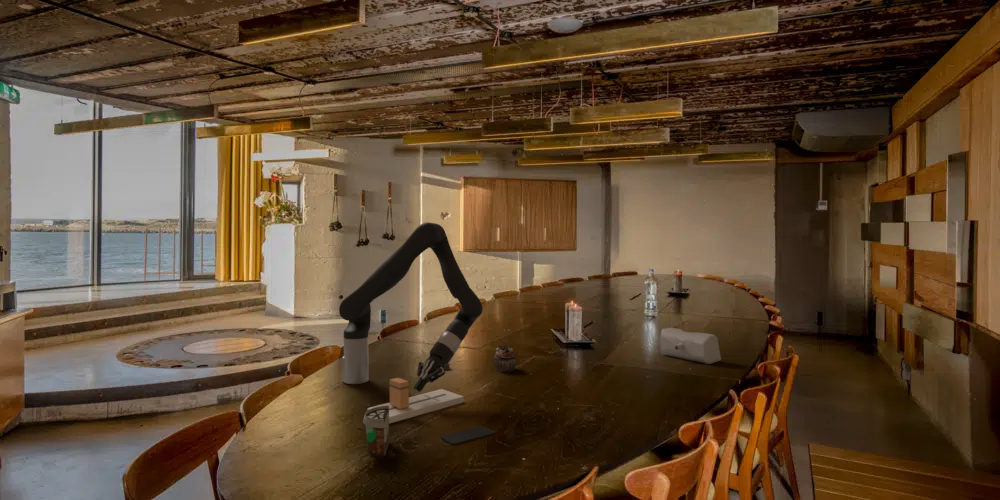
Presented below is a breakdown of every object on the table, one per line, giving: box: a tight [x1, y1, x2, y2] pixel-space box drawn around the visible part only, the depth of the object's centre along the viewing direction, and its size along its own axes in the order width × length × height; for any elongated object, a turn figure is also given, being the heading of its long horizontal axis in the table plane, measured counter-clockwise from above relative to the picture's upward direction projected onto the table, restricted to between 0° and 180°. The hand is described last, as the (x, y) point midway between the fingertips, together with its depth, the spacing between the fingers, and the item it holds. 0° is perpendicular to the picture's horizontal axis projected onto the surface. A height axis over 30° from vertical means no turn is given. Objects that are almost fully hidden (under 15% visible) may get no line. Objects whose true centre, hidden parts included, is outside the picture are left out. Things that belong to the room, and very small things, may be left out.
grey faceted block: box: [659, 327, 722, 365], centre depth 250 cm, size 25×16×12 cm, turn 39°
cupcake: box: [493, 345, 517, 373], centre depth 231 cm, size 10×10×10 cm
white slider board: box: [366, 388, 465, 425], centre depth 182 cm, size 30×12×2 cm, turn 134°
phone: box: [440, 425, 496, 446], centre depth 158 cm, size 7×1×15 cm
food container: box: [362, 406, 390, 457], centre depth 148 cm, size 12×6×10 cm, turn 5°
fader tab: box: [388, 377, 410, 409], centre depth 177 cm, size 3×6×8 cm, turn 44°
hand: (416, 390), depth 182 cm, fingers closed
